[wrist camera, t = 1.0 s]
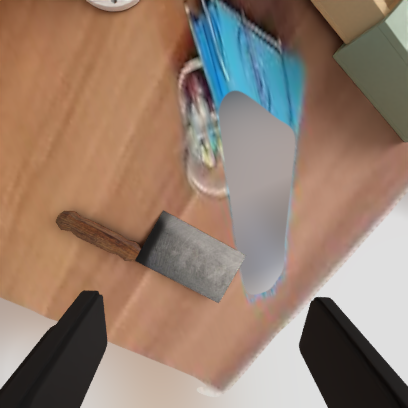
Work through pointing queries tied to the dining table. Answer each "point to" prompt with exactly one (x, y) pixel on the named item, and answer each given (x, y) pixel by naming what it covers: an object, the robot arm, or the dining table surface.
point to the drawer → (353, 15)
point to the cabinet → (382, 66)
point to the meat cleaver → (167, 252)
